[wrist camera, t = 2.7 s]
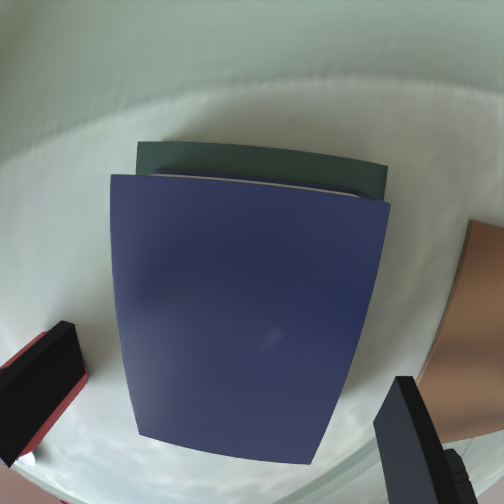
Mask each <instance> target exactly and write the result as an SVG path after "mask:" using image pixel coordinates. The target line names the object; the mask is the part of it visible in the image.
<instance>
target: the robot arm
mask: <svg viewBox="0 0 504 504" xmlns="http://www.w3.org/2000/svg"><path fill="white" fill-rule="evenodd" d="M85 374H86V369H85V366H84V362H83V358H82V354H81V350H80V346H79V342H78V338H77V333H76V329H75V324H72V323H69V322H66V321H63V320H61V321H60V322H59V323H58V324H57V325H55V326H54V327H53V328H52V329H51V330H49V331H48V332H47V333H46V334H45V335H43V336H42V337H41V338H40V339H39V340H37V341H36V342H35V343H34V344H33V345H32V346H30V347H29V348H28V349H27V350H26V351H25V352H23V353H22V354H21V355H20V356H19V357H18V358H17V359H16V360H14V361H13V362H12V363H11V364H10V365H9V366H8V367H7V368H5V367H3V368H1V369H0V461H1V462H2V463H3V464H4V465H6V466H7V467H8V468H10V467H11V465H12V464H13V463H14V462H15V460H16V459H17V458H18V456H19V455H20V454H21V452H22V451H23V450H24V448H25V447H26V446H27V445H28V443H29V442H30V441H31V439H32V438H33V437H34V436H35V434H36V433H37V432H38V431H39V429H40V428H41V427H42V426H43V424H44V423H45V422H46V421H47V419H48V418H49V417H50V416H51V414H52V413H53V412H54V411H55V410H56V408H57V407H58V406H59V405H60V404H61V402H62V401H63V400H64V399H65V397H66V396H67V395H68V394H69V393H70V392H71V390H72V389H73V388H74V387H75V386H76V384H77V383H78V382H79V381H80V380H81V379H82V377H83V376H84V375H85ZM373 425H374V429H375V434H376V438H377V443H378V447H379V452H380V457H381V462H382V467H383V472H384V477H385V482H386V488H387V493H388V499H389V504H478V502H477V499H476V496H475V493H474V490H473V487H472V485H471V482H470V481H469V476H468V474H467V471H465V470H466V468H465V466H464V463H463V461H462V458H461V457H460V456H459V455H458V453H457V452H456V451H455V450H454V449H453V448H452V449H447V450H443V447H442V445H441V442H440V440H439V437H438V434H437V432H436V429H435V427H434V424H433V422H432V420H431V417H430V415H429V412H428V410H427V408H426V405H425V403H424V401H423V399H422V396H421V394H420V392H419V389H418V387H417V385H416V383H415V381H414V378H413V376H396V377H395V379H394V381H393V383H392V385H391V388H390V390H389V392H388V394H387V396H386V398H385V400H384V402H383V404H382V406H381V408H380V410H379V412H378V414H377V416H376V418H375V419H374V421H373Z"/></svg>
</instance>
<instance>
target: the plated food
mask: <svg viewBox="0 0 504 504" xmlns="http://www.w3.org/2000/svg"><path fill="white" fill-rule="evenodd" d="M18 461H20V462H22V463H24V464H26V465H29V466H34V465H35V464H36V458H35V455H34V453H33V452H32V451H31V452H30V453H28V454H26V455H23V456H21V457H19V460H18Z"/></svg>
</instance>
